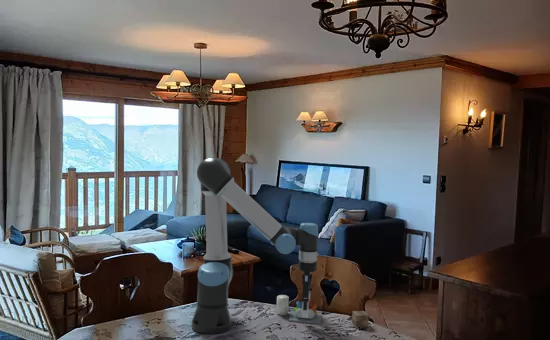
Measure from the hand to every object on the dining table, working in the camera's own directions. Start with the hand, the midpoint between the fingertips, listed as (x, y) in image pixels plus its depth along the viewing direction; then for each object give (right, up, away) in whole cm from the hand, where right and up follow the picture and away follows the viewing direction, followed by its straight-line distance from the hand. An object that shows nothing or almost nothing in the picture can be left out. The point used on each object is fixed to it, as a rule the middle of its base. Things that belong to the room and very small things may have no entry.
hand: (305, 311), depth 181 cm
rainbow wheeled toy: (0, -2, 0) cm, 2 cm away
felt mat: (0, -3, 0) cm, 2 cm away
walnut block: (+21, -4, -6) cm, 22 cm away
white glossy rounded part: (-10, -2, +4) cm, 11 cm away
